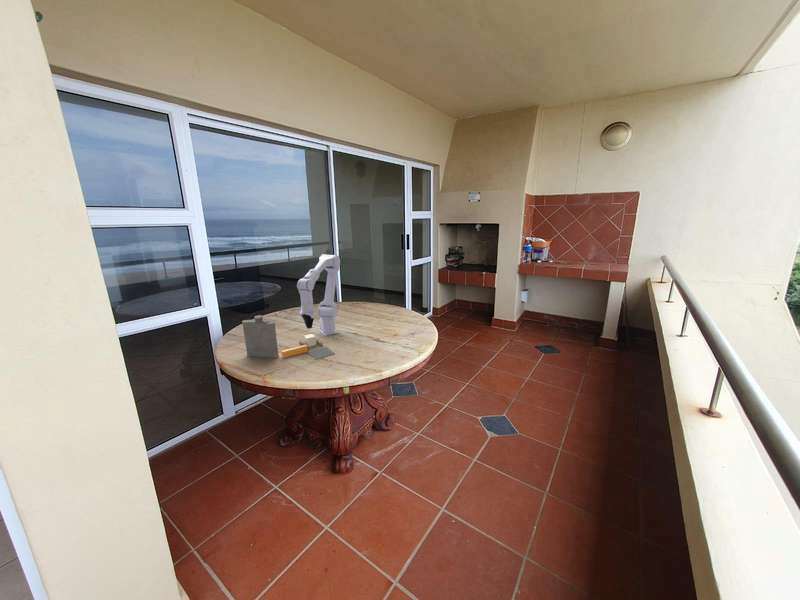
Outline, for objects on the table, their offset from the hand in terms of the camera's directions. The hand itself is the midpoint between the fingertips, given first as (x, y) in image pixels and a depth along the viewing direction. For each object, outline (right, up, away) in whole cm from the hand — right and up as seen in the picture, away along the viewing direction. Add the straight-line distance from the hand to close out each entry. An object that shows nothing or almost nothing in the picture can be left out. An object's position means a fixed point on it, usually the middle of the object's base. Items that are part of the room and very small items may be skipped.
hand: (309, 327), depth 163 cm
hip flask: (-20, -13, -9) cm, 25 cm away
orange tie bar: (-5, -12, -8) cm, 15 cm away
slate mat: (+8, -12, -7) cm, 16 cm away
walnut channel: (0, -9, +3) cm, 9 cm away
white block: (0, -9, +3) cm, 10 cm away
